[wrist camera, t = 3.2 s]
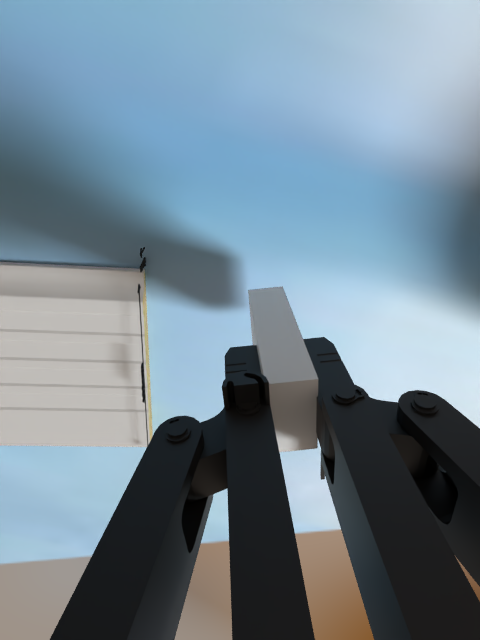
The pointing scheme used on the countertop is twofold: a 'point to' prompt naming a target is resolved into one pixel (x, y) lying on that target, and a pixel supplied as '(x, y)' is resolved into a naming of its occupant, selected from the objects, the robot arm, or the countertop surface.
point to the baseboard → (74, 356)
